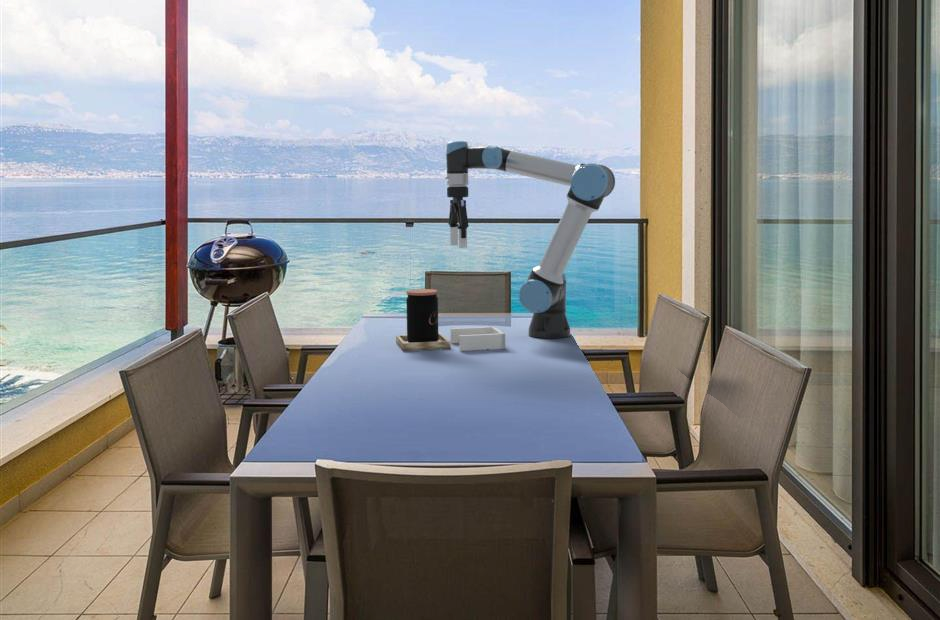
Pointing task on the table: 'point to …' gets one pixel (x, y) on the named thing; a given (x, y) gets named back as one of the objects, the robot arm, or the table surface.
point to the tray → (422, 343)
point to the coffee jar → (422, 315)
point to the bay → (478, 338)
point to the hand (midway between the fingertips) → (458, 246)
